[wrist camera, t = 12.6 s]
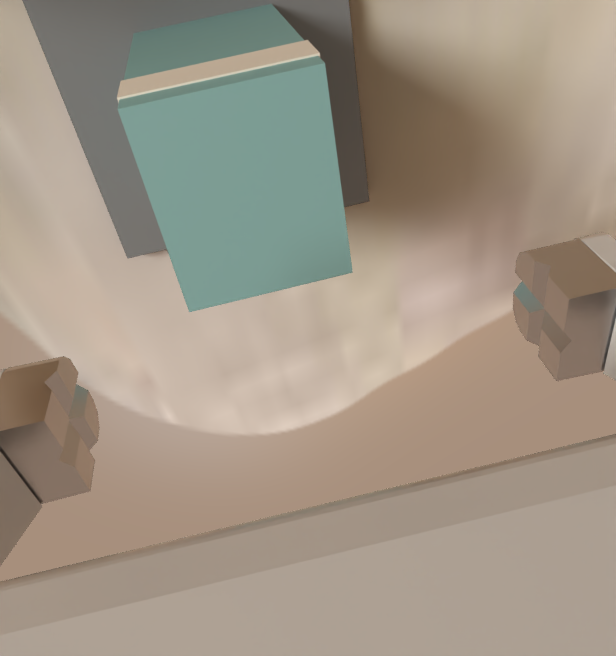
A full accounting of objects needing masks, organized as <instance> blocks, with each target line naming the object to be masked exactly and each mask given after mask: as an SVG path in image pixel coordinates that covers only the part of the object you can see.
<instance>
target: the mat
mask: <svg viewBox="0 0 616 656" xmlns="http://www.w3.org/2000/svg"><path fill="white" fill-rule="evenodd" d="M23 3H24V5H25V8H26V10H27V13H28V15H29V18H30V20H31V23H32V25H33V27H34V30H35V32H36V35H37V37H38V40H39V42H40V45H41V47H42V50H43V52H44V54H45V57H46V59H47V62H48V64H49V67H50V69H51V72H52V74H53V77H54V79H55V81H56V84H57V86H58V89H59V91H60V94H61V96H62V99H63V101H64V104H65V106H66V108H67V111H68V113H69V116H70V118H71V121H72V123H73V126H74V128H75V131H76V133H77V135H78V138H79V140H80V143H81V145H82V148H83V150H84V153H85V155H86V158H87V160H88V162H89V165H90V167H91V170H92V172H93V175H94V177H95V180H96V182H97V185H98V187H99V189H100V192H101V194H102V197H103V199H104V202H105V204H106V207H107V209H108V212H109V214H110V216H111V219H112V221H113V224H114V226H115V229H116V231H117V234H118V236H119V239H120V241H121V243H122V246H123V248H124V251H125V253H126V256H127V258H132V257H136V256H140V255H144V254H148V253H153V252H157V251H161V250H165V249H167V248H166V245H165V242H164V239H163V236H162V233H161V231H160V228H159V225H158V222H157V219H156V216H155V214H154V211H153V208H152V205H151V202H150V200H149V197H148V194H147V191H146V188H145V185H144V183H143V180H142V177H141V174H140V171H139V169H138V166H137V163H136V160H135V157H134V154H133V152H132V149H131V146H130V143H129V140H128V137H127V135H126V132H125V129H124V126H123V123H122V121H121V118H120V115H119V112H118V104H119V103H118V100H117V95H118V90H119V86H120V82H121V81H122V80H124V76H125V71H126V67H127V62H128V57H129V53H130V48H131V43H132V39H133V34H134V33H138V32H142V31H147V30H152V29H156V28H161V27H166V26H170V25H175V24H180V23H184V22H189V21H193V20H198V19H203V18H207V17H212V16H217V15H221V14H226V13H231V12H235V11H240V10H245V9H249V8H254V7H258V6H263V5H268V4H272V5H273V6H274V7H275V8H276V9H277V10H278V12H279V13H280V14H281V15H282V16H283V17H284V18H285V19H286V20H287V22H288V23H289V24H290V25H291V26H292V27H293V28H294V29H295V30H296V32H297V33H298V34H299V35H300V36H301V37H302V38H303V39H304V40H308V41H309V42H310V43H311V44H312V45H313V46H314V47H315V48H316V49H317V50H318V52H319V53H320V58H321V59H322V60H323V61H324V63H325V67H326V75H327V82H328V90H329V98H330V105H331V113H332V120H333V128H334V135H335V143H336V151H337V158H338V166H339V173H340V181H341V188H342V196H343V204H344V207H347V206H351V205H355V204H360V203H364V202H368V201H369V194H368V184H367V174H366V165H365V155H364V145H363V135H362V126H361V116H360V106H359V96H358V87H357V77H356V67H355V57H354V47H353V38H352V28H351V18H350V8H349V0H23Z"/></svg>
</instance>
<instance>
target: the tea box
mask: <svg viewBox="0 0 616 656" xmlns="http://www.w3.org/2000/svg"><path fill="white" fill-rule="evenodd" d="M117 100H118V103H119V104H118V112H119V115H120V118H121V121H122V123H123V126H124V129H125V132H126V135H127V137H128V140H129V143H130V146H131V149H132V152H133V154H134V157H135V160H136V163H137V166H138V169H139V171H140V174H141V177H142V180H143V183H144V185H145V188H146V191H147V194H148V197H149V200H150V202H151V205H152V208H153V211H154V214H155V216H156V219H157V222H158V225H159V228H160V231H161V233H162V236H163V239H164V242H165V245H166V248H167V250H168V253H169V256H170V259H171V262H172V264H173V267H174V270H175V273H176V276H177V279H178V281H179V284H180V287H181V290H182V293H183V296H184V298H185V301H186V304H187V307H188V310H189V312H192V311H196V310H200V309H204V308H209V307H213V306H217V305H221V304H225V303H229V302H233V301H237V300H241V299H246V298H250V297H254V296H258V295H262V294H266V293H270V292H274V291H279V290H283V289H287V288H291V287H295V286H299V285H303V284H307V283H311V282H316V281H320V280H324V279H328V278H332V277H336V276H340V275H344V274H348V273H353V272H352V264H351V257H350V249H349V241H348V234H347V226H346V219H345V211H344V204H343V196H342V188H341V181H340V173H339V166H338V158H337V151H336V143H335V135H334V128H333V120H332V113H331V105H330V98H329V90H328V82H327V75H326V67H325V63H324V61H323V60H322V59H321V58H320V53H319V52H318V50H317V49H316V48H315V47H314V46H313V45H312V44H311V43H310V42H309V41H308V40H304V39H303V38H302V37H301V36H300V35H299V34H298V33H297V32H296V30H295V29H294V28H293V27H292V26H291V25H290V24H289V23H288V22H287V20H286V19H285V18H284V17H283V16H282V15H281V14H280V13H279V12H278V10H277V9H276V8H275V7H274V6H273V5H272V4H268V5H263V6H258V7H254V8H249V9H245V10H240V11H235V12H231V13H226V14H221V15H217V16H212V17H207V18H203V19H198V20H193V21H189V22H184V23H180V24H175V25H170V26H166V27H161V28H156V29H152V30H147V31H142V32H138V33H134V34H133V39H132V43H131V48H130V53H129V57H128V62H127V67H126V71H125V76H124V80H122V81H121V82H120V86H119V90H118V95H117Z"/></svg>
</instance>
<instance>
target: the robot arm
mask: <svg viewBox="0 0 616 656" xmlns="http://www.w3.org/2000/svg"><path fill="white" fill-rule="evenodd" d="M515 273H516V274H517V275H518V276H519V278H520V279H521V280H522V282H521V283H520V285H519V286H518V287H517V288H516V290H515V291H514V293H513V310H514V315H515V320H516V323H517V325H518V327H519V329H520V332H521V333H522V334H523V336H524V337H525V339H526V340H527V341H529V342H532V343H534V344H536V345H538V346H539V354H538V356H539V358H540V360H541V361H542V362H543V363H544V365H545V366H546V368H547V369H548V370H549V372H550V373H551V374H552V376H553V377H554V379H555V380H556V381H559V380H563V379H569V378H573V377H578V376H583V375H588V374H593V373H597V372H602V371H604V372H603V374H605V375H607V376H609V377H611V378H613V379H614V380H616V240H615V239H614V238H613V237H612V236H611V235H609V234H607V233H603V232H599V233H595V234H591V235H587V236H584V237H580V238H576V239H574V240H572V241H567V242H563V243H559V244H554V245H550V246H546V247H542V248H537V249H533V250H529V251H525V252H520V253H519V255H518V258H517V260H516V269H515ZM77 377H78V371H77V370H76V368H75V366H74V365H73V363H72V361H71V360H70V359H69V358H66V357H64V356H63V357H58V358H53V359H48V360H43V361H38V362H34V363H29V364H24V365H19V366H15V367H9V368H7V369H1V370H0V566H1V565H2V563H3V562H4V560H5V559H6V557H7V556H8V555H9V553H10V552H11V550H12V549H13V547H14V546H15V545H16V543H17V542H18V540H19V539H20V537H21V536H22V535H23V533H24V532H25V530H26V529H27V527H28V526H29V525H30V523H31V522H32V520H33V519H34V518H35V516H36V515H37V513H38V512H39V510H40V509H41V508H42V505H41V504H43V503H47V502H51V501H54V500H58V499H62V498H66V497H70V496H74V495H77V494H81V493H85V492H89V491H90V490H91V484H92V477H93V471H94V464H95V459H94V458H93V456H92V454H91V453H90V451H89V450H90V449H91V448H92V447H93V446H94V445H95V443H96V442H97V441H98V436H99V421H98V412H97V409H96V406H95V403H94V400H93V398H92V396H91V394H90V393H89V391H88V390H86V389H84V388H82V387H81V386H79V385H77V384H76V382H77ZM0 656H616V434H613V435H609V436H605V437H601V438H597V439H593V440H588V441H584V442H581V443H576V444H572V445H568V446H563V447H559V448H555V449H551V450H547V451H542V452H538V453H534V454H530V455H526V456H522V457H517V458H513V459H509V460H505V461H501V462H497V463H492V464H489V465H484V466H480V467H475V468H471V469H467V470H463V471H459V472H454V473H450V474H446V475H442V476H438V477H433V478H429V479H425V480H421V481H417V482H413V483H408V484H405V485H400V486H396V487H392V488H388V489H384V490H380V491H375V492H372V493H367V494H363V495H359V496H355V497H350V498H346V499H342V500H338V501H334V502H329V503H325V504H321V505H317V506H313V507H309V508H305V509H300V510H296V511H292V512H288V513H284V514H280V515H276V516H271V517H267V518H263V519H259V520H255V521H251V522H246V523H242V524H239V525H235V526H230V527H226V528H222V529H217V530H213V531H209V532H205V533H201V534H197V535H192V536H188V537H184V538H180V539H176V540H172V541H167V542H163V543H159V544H155V545H151V546H147V547H142V548H138V549H134V550H130V551H126V552H122V553H117V554H113V555H109V556H105V557H101V558H97V559H93V560H88V561H84V562H80V563H76V564H72V565H67V566H63V567H59V568H55V569H51V570H47V571H42V572H39V573H34V574H30V575H26V576H22V577H18V578H14V579H9V580H6V581H1V582H0Z"/></svg>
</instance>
